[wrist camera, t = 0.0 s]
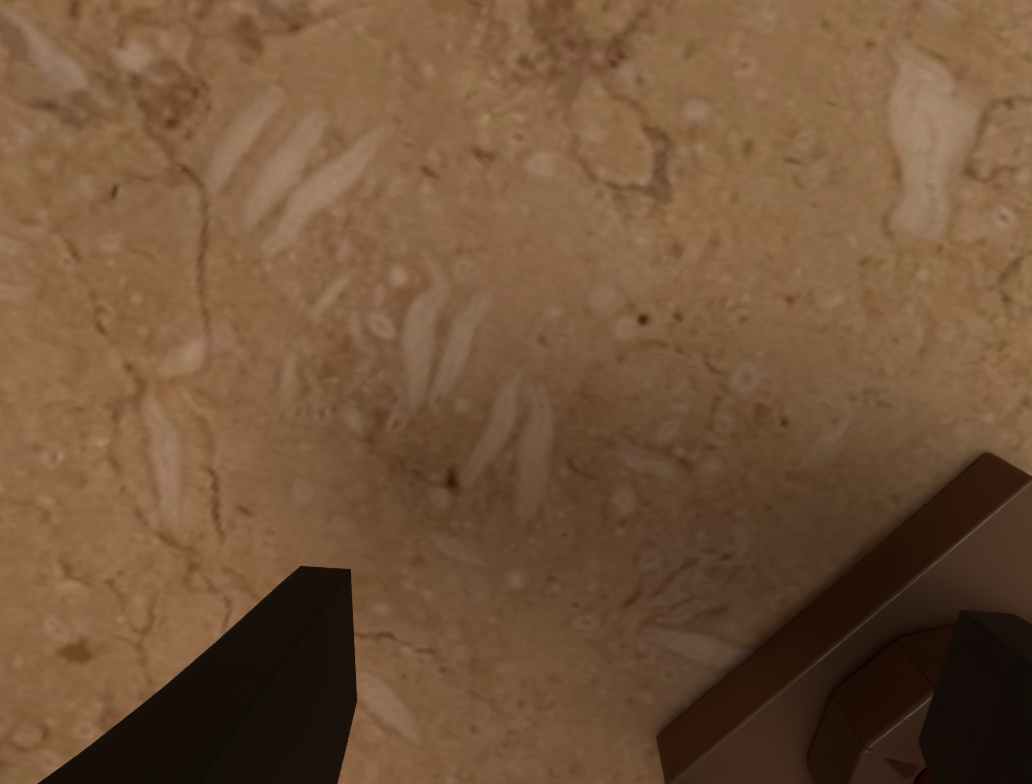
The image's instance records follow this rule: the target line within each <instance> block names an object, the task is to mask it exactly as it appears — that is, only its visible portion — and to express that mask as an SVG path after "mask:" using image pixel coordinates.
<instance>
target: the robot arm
mask: <svg viewBox="0 0 1032 784" xmlns="http://www.w3.org/2000/svg"><path fill="white" fill-rule="evenodd" d="M356 703H357V688H356V668H355V647H354V627H353V606H352V585H351V569H340V568H325V567H310V566H300V567H299V568H298V569H297V570H295V571H294V572H293V573H292V574H291V575H289V576H288V577H287V578H286V579H285V580H284V581H283V582H281V583H280V584H279V585H278V586H277V587H276V588H275V589H274V590H273V591H272V592H270V593H269V594H268V595H267V596H266V597H265V598H264V599H263V600H262V601H261V602H259V603H258V604H257V605H256V606H255V607H254V608H253V609H252V610H251V611H250V612H248V613H247V614H246V615H245V616H244V617H243V618H242V619H241V620H240V621H239V622H237V623H236V624H235V625H234V626H233V627H232V628H231V629H230V630H229V631H227V632H226V633H225V634H224V635H223V636H222V637H221V638H220V639H219V640H217V641H216V642H215V643H214V644H213V645H212V646H211V647H209V648H208V649H207V650H206V651H205V652H204V653H202V654H201V655H200V656H199V657H198V658H197V659H195V660H194V661H193V662H192V663H191V664H190V665H189V666H187V667H186V668H185V669H184V670H183V671H182V672H180V673H179V674H178V675H177V676H176V677H175V678H174V679H172V680H171V681H170V682H169V683H168V684H166V685H165V686H164V687H163V688H162V689H160V690H159V691H158V692H157V693H156V694H154V695H153V696H152V697H151V698H149V699H148V700H147V701H146V702H144V703H143V704H142V705H141V706H139V707H138V708H137V709H136V710H134V711H133V712H132V713H130V714H129V715H128V716H127V717H125V718H124V719H123V720H122V721H120V722H119V723H118V724H117V725H115V726H114V727H113V728H112V729H110V730H109V731H108V732H107V733H105V734H104V735H103V736H101V737H100V738H99V739H98V740H96V741H95V742H94V743H93V744H91V745H90V746H89V747H87V748H86V749H85V750H83V751H82V752H81V753H79V754H78V755H77V756H75V757H74V758H73V759H71V760H70V761H69V762H67V763H66V764H64V765H63V766H62V767H60V768H59V769H58V770H56V771H55V772H53V773H52V774H51V775H49V776H48V777H46V778H45V779H44V780H42V781H41V782H39V783H38V784H337V783H338V779H339V775H340V771H341V767H342V763H343V759H344V755H345V750H346V746H347V742H348V738H349V734H350V729H351V725H352V720H353V716H354V712H355V707H356ZM918 743H919V746H920V749H921V752H922V755H923V758H924V761H925V764H926V767H927V770H928V773H929V776H930V779H931V782H932V784H1032V624H1031V623H1029V622H1027V621H1026V620H1024V619H1022V618H1021V617H1019V616H1017V615H1015V614H1013V613H998V612H983V611H968V610H960V613H959V616H958V619H957V622H956V625H955V629H954V632H953V635H952V638H951V641H950V644H949V647H948V650H947V653H946V656H945V659H944V662H943V665H942V669H941V672H940V675H939V678H938V681H937V684H936V687H935V690H934V693H933V696H932V699H931V702H930V705H929V708H928V712H927V715H926V718H925V721H924V724H923V727H922V730H921V733H920V736H919V739H918Z"/></svg>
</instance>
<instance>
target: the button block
mask: <svg viewBox="0 0 1032 784" xmlns="http://www.w3.org/2000/svg"><path fill="white" fill-rule="evenodd" d="M960 610H968V611H983V612H998V613H1013V614H1015V615H1017V616H1019V617H1021V618H1022V619H1024V620H1026V621H1027V622H1029V623H1031V624H1032V476H1031V475H1029V474H1027V473H1025V472H1024V471H1022V470H1020V469H1018V468H1017V467H1015V466H1013V465H1011V464H1009V463H1008V462H1006V461H1004V460H1002V459H1001V458H999V457H997V456H995V455H993V454H991V453H987V454H985V455H984V456H983V457H981V458H980V459H979V460H978V461H977V462H976V463H975V464H973V465H972V466H971V467H970V468H969V469H968V470H966V471H965V472H964V473H963V474H962V475H961V476H959V477H958V478H957V479H956V480H955V481H954V482H952V483H951V484H950V485H949V486H948V487H947V488H945V489H944V490H943V491H942V492H941V493H940V494H938V495H937V496H936V497H935V498H934V499H933V500H931V501H930V502H929V503H928V504H927V505H926V506H925V507H923V508H922V509H921V510H920V511H919V512H918V513H916V514H915V515H914V516H913V517H912V518H911V519H909V520H908V521H907V522H906V523H905V524H904V525H902V526H901V527H900V528H899V529H898V530H897V531H895V532H894V533H893V534H892V535H891V536H890V537H888V538H887V539H886V540H885V541H884V542H883V543H881V544H880V545H879V546H878V547H877V548H876V549H875V550H873V551H872V552H871V553H870V554H869V555H868V556H866V557H865V558H864V559H863V560H862V561H861V562H859V563H858V564H857V565H856V566H855V567H854V568H852V569H851V570H850V571H849V572H848V573H847V574H845V575H844V576H843V577H842V578H841V579H840V580H838V581H837V582H836V583H835V584H834V585H833V586H831V587H830V588H829V589H828V590H827V591H826V592H825V593H823V594H822V595H821V596H820V597H819V598H818V599H816V600H815V601H814V602H813V603H812V604H811V605H809V606H808V607H807V608H806V609H805V610H804V611H802V612H801V613H800V614H799V615H798V616H797V617H795V618H794V619H793V620H792V621H791V622H790V623H788V624H787V625H786V626H785V627H784V628H783V629H781V630H780V631H779V632H778V633H777V634H776V635H775V636H773V637H772V638H771V639H770V640H769V641H768V642H766V643H765V644H764V645H763V646H762V647H761V648H759V649H758V650H757V651H756V652H755V653H754V654H752V655H751V656H750V657H749V658H748V659H747V660H745V661H744V662H743V663H742V664H741V665H740V666H738V667H737V668H736V669H735V670H734V671H733V672H731V673H730V674H729V675H728V676H727V677H726V678H725V679H723V680H722V681H721V682H720V683H719V684H718V685H716V686H715V687H714V688H713V689H712V690H711V691H709V692H708V693H707V694H706V695H705V696H704V697H702V698H701V699H700V700H699V701H698V702H697V703H695V704H694V705H693V706H692V707H691V708H690V709H688V710H687V711H686V712H685V713H684V714H683V715H681V716H680V717H679V718H678V719H677V720H676V721H674V722H673V723H672V724H671V725H670V726H669V727H668V728H666V729H665V730H664V731H663V732H662V733H661V734H659V735H658V737H657V744H658V749H659V754H660V759H661V764H662V769H663V774H664V779H665V784H917V782H918V780H919V778H920V777H921V776H922V774H923V773H924V771H925V770H926V769H927V767H926V764H925V761H924V758H923V755H922V752H921V749H920V746H919V743H918V739H919V736H920V733H921V730H922V727H923V724H924V721H925V718H926V715H927V712H928V708H929V705H930V702H931V699H932V696H933V693H934V690H935V687H936V684H937V681H938V678H939V675H940V672H941V669H942V665H943V662H944V659H945V656H946V653H947V650H948V647H949V644H950V641H951V638H952V635H953V632H954V629H955V625H956V622H957V619H958V616H959V613H960Z"/></svg>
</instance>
